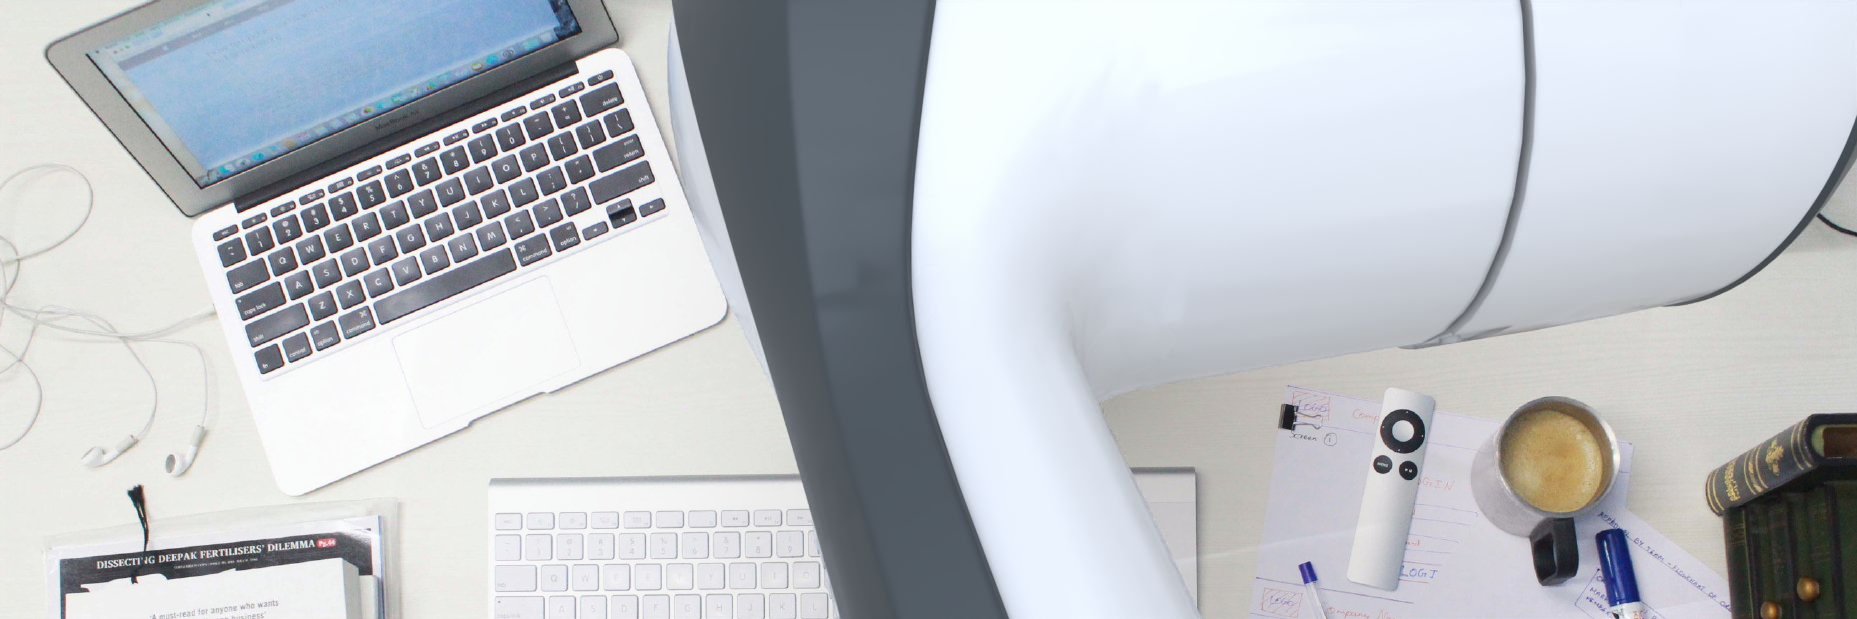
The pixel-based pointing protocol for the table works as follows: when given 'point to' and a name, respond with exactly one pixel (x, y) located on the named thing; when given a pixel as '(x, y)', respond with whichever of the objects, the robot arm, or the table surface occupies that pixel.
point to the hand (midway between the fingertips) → (1125, 95)
